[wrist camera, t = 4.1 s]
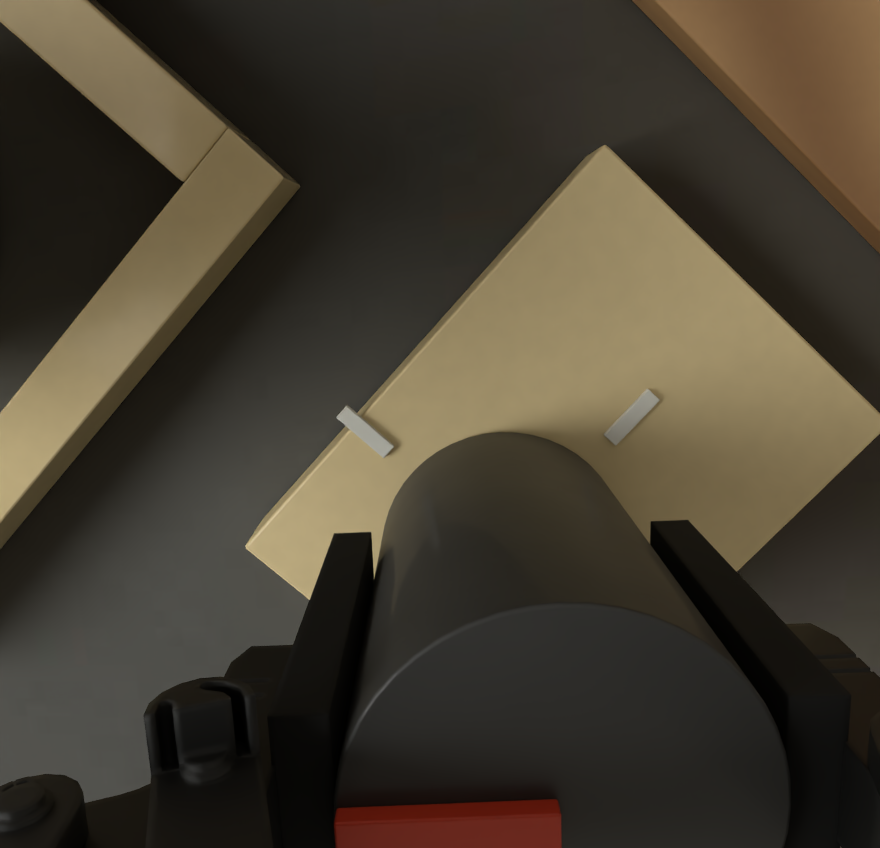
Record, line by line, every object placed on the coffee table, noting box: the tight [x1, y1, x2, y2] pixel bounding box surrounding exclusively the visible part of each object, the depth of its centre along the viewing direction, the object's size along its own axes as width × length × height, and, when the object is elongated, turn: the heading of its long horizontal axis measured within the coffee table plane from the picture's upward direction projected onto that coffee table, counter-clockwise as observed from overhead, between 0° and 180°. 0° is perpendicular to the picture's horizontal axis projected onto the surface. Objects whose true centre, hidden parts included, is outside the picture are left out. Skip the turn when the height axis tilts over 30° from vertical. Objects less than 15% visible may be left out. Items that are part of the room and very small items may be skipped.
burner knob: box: [334, 432, 791, 848], centre depth 14 cm, size 6×6×9 cm
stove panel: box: [246, 145, 880, 600], centre depth 19 cm, size 13×10×2 cm
